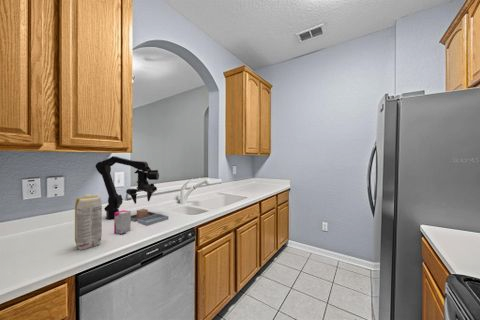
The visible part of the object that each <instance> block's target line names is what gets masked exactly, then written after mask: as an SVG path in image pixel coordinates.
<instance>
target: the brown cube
mask: <svg viewBox="0 0 480 320" xmlns="http://www.w3.org/2000/svg"><path fill="white" fill-rule="evenodd" d="M148 211H149V209H146V208H141V209H136V214H137V218H141V217H145V216H148Z"/></svg>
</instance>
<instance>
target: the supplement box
mask: <svg viewBox="0 0 480 320" xmlns="http://www.w3.org/2000/svg"><path fill="white" fill-rule="evenodd" d="M131 215H132V213H131V210H119V212H115V213H114V219H113V224H114V225H113V233H114V234H117V235H120V236H121V235H124V234H126V233H128V232H130V231H131V223H132V221H131Z"/></svg>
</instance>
